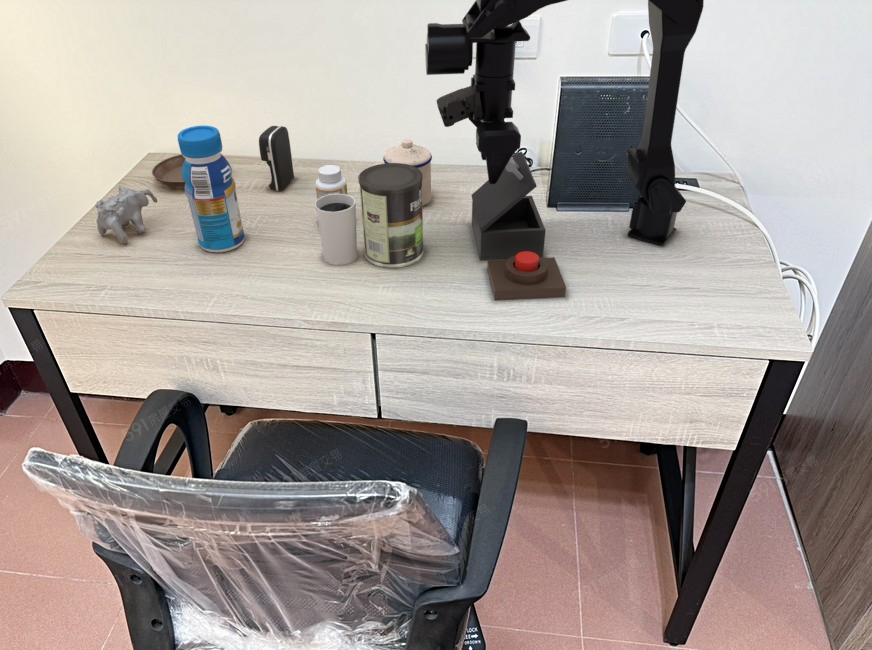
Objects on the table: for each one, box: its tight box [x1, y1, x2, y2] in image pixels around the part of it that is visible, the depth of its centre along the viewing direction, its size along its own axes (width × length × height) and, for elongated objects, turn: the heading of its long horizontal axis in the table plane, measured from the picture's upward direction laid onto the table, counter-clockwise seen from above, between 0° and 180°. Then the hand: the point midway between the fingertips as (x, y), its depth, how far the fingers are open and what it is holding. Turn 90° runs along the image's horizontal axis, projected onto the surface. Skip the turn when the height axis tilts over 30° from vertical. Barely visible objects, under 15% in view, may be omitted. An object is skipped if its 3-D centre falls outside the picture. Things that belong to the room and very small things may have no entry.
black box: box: [471, 195, 547, 262], centre depth 122 cm, size 11×13×5 cm
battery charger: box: [258, 125, 295, 192], centre depth 141 cm, size 7×4×11 cm, turn 162°
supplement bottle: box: [315, 164, 349, 200], centre depth 128 cm, size 6×6×10 cm
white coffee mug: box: [314, 194, 358, 266], centre depth 118 cm, size 7×7×10 cm
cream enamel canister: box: [371, 139, 433, 207], centre depth 134 cm, size 12×9×12 cm
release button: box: [515, 251, 539, 272], centre depth 111 cm, size 4×4×2 cm
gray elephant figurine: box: [95, 185, 158, 244], centre depth 129 cm, size 9×12×8 cm
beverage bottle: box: [177, 125, 246, 253], centre depth 120 cm, size 8×8×20 cm
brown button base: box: [486, 255, 567, 301], centre depth 112 cm, size 11×9×4 cm
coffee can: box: [357, 162, 424, 269], centre depth 117 cm, size 10×10×14 cm
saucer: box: [151, 153, 186, 190], centre depth 147 cm, size 15×15×3 cm
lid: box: [471, 151, 538, 232], centre depth 117 cm, size 11×13×4 cm
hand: (488, 171), depth 116 cm, fingers open, 9 cm apart
